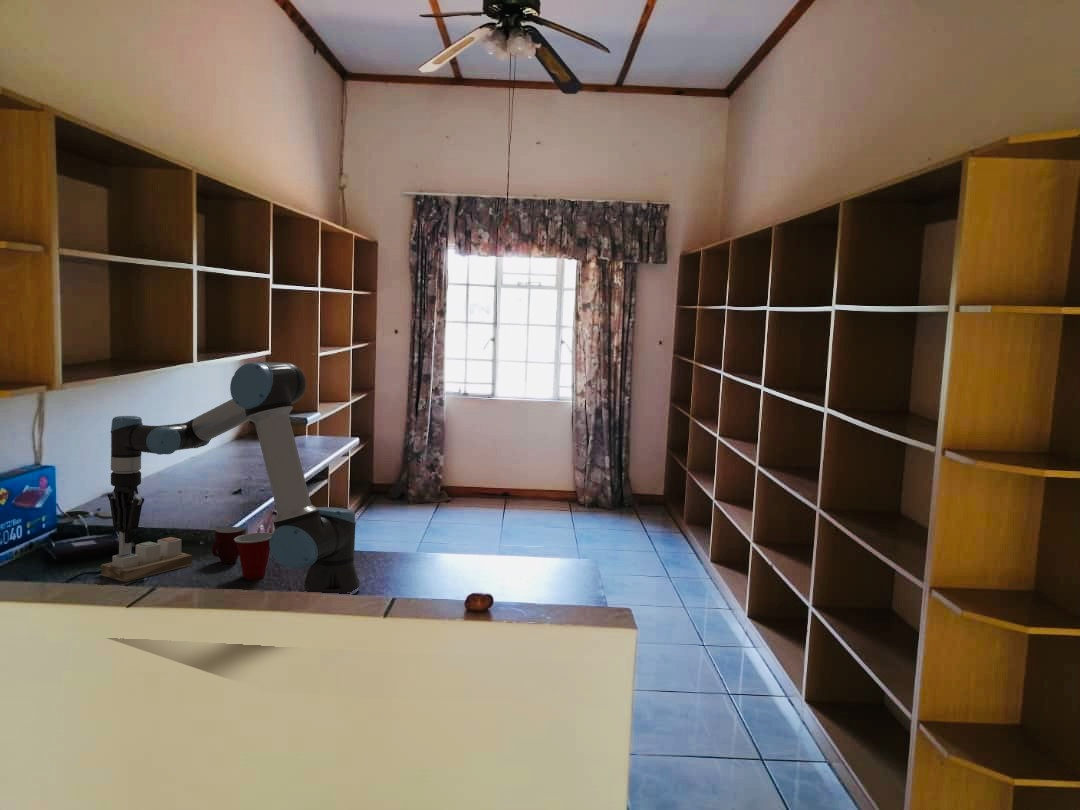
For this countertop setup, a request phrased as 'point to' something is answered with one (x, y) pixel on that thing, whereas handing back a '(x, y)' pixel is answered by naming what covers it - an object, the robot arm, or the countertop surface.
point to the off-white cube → (125, 561)
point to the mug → (227, 543)
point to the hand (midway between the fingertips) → (125, 553)
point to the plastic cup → (253, 553)
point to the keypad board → (146, 568)
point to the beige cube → (170, 547)
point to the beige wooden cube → (148, 552)
